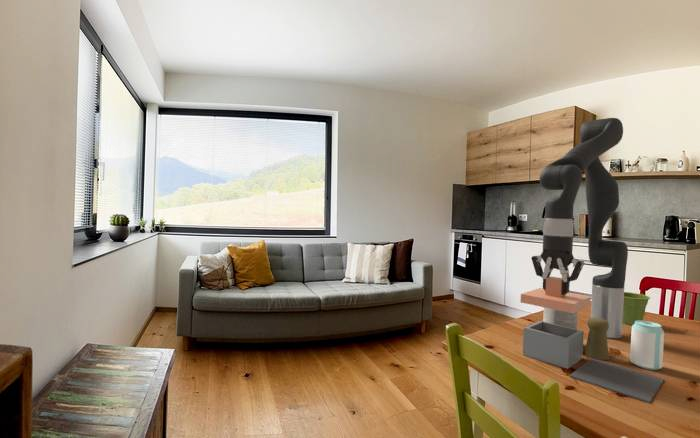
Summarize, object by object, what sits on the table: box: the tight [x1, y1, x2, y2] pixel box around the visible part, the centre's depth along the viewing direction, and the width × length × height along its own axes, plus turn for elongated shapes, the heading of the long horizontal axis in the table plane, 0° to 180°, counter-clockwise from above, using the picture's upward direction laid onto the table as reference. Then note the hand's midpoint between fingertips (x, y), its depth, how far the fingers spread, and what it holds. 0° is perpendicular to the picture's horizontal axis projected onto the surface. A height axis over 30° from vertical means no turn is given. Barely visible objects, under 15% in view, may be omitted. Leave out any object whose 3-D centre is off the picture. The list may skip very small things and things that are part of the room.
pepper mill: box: [584, 317, 610, 361], centre depth 108 cm, size 6×6×11 cm
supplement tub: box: [542, 307, 579, 329], centre depth 117 cm, size 10×10×15 cm
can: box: [629, 320, 665, 371], centre depth 102 cm, size 7×7×12 cm
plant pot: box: [623, 291, 651, 326], centre depth 143 cm, size 12×12×11 cm
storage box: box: [522, 320, 585, 370], centre depth 106 cm, size 12×12×8 cm
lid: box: [520, 276, 591, 313], centre depth 106 cm, size 14×14×8 cm
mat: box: [569, 357, 665, 404], centre depth 93 cm, size 18×16×1 cm
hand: (555, 292), depth 106 cm, fingers closed on lid, 4 cm apart
